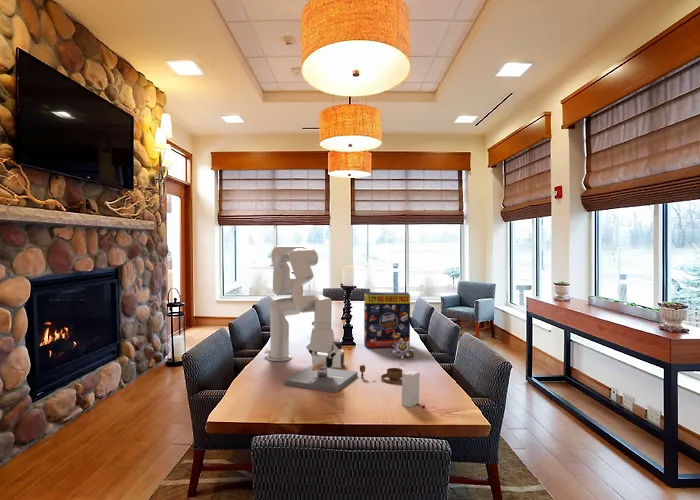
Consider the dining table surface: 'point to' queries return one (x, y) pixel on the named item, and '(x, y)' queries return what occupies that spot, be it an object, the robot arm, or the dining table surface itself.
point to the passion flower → (402, 348)
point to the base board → (321, 379)
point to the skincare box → (410, 388)
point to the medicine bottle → (338, 356)
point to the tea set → (388, 375)
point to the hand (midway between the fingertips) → (322, 365)
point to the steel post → (322, 372)
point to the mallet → (320, 361)
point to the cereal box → (386, 318)
